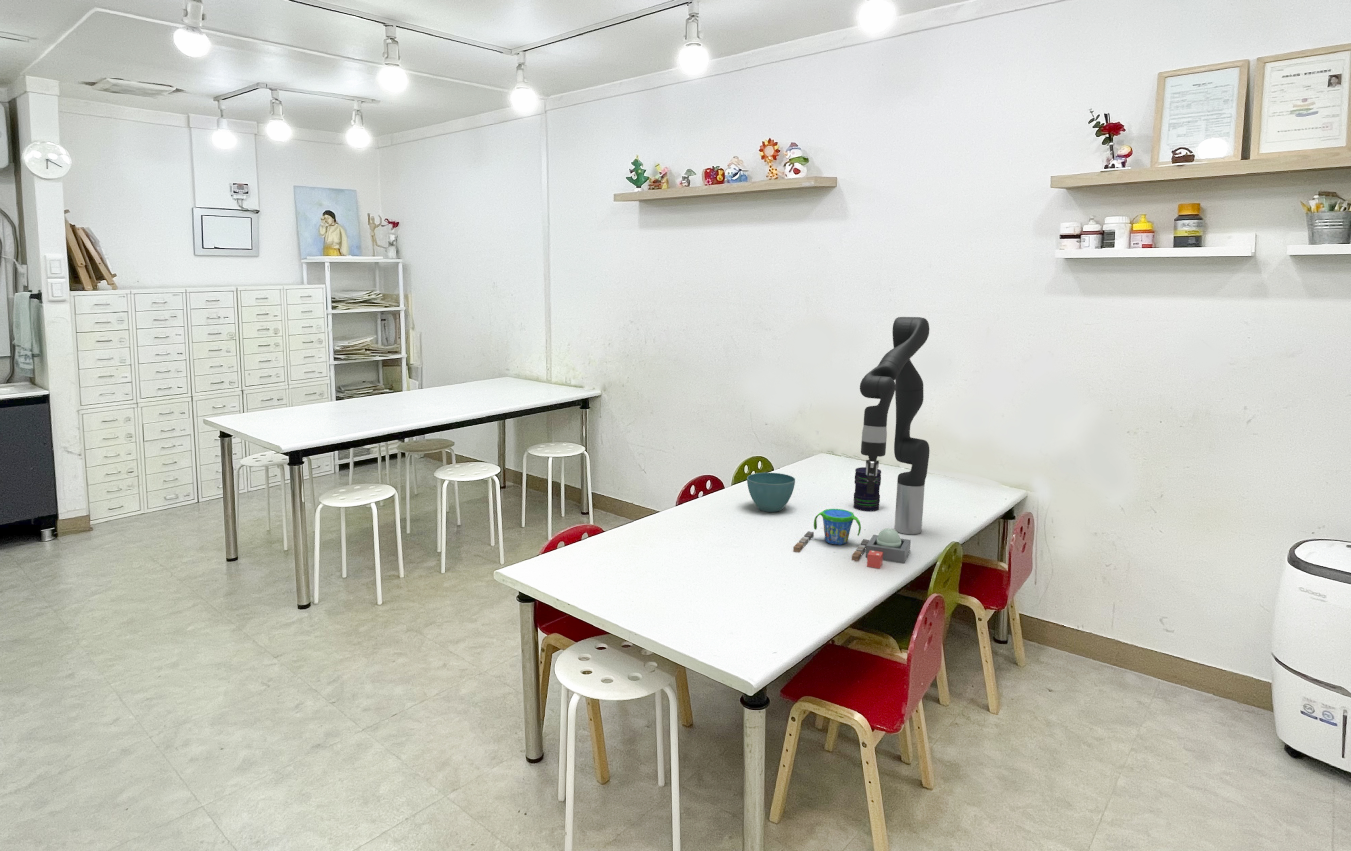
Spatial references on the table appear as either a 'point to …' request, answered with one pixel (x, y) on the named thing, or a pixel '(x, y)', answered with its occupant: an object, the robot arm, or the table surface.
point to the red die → (874, 559)
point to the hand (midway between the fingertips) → (870, 491)
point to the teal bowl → (770, 490)
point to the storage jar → (861, 496)
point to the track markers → (809, 535)
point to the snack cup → (837, 525)
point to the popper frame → (890, 550)
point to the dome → (889, 538)
